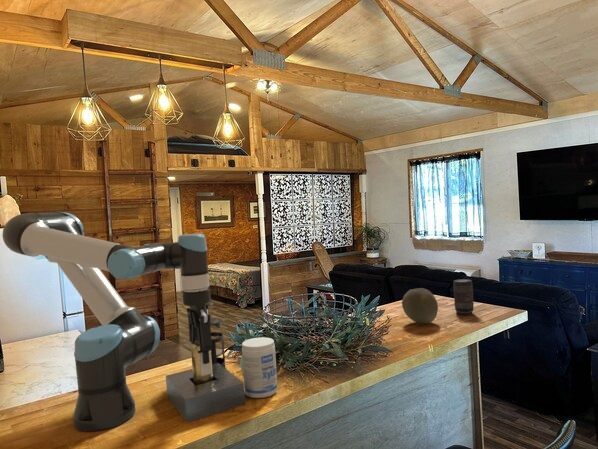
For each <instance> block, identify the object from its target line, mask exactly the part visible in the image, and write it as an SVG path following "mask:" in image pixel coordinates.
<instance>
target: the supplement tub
mask: <svg viewBox="0 0 598 449" xmlns="http://www.w3.org/2000/svg"><path fill="white" fill-rule="evenodd" d="M241 357H242V358H241V359H242V369H243V370H242V371H243V372H242V373H243V383H244V394H245V396H247V397H249V398H252V399H262V398H263V399H264V398H268V397H271V396H273V395H275V394H276V392H277V391H278V374H277V372H278V371H277V359H276V358H277V357H276V346H275V340H274V339H273V338H270V337H264V336H262V337H254V338H250V339H249V338H248V339H246V340H244V341H243V342H242V343H241Z"/></svg>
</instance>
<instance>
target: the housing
mask: <svg viewBox="0 0 598 449" xmlns="http://www.w3.org/2000/svg"><path fill="white" fill-rule="evenodd" d="M212 372H213V381H211V382H207V383H204V384H200V385H196V386H195V385H194V383H193V370H192V368H191V369H186V370H183V371H178V372H175V373H171V374H167V375H165V383H166V384H165V386H166V397H167V398H168V399H169V400H170V402H171V403H172V404H173V406H174V407H175V409H176V410H177V412H178V413H179V414H180V416H181V417H182V418H183V419H184V421H185V423H190V422H194V421H198V420H201V419H203V418H206V417H209V416H213V415H215V414H219V413H222V412H225V411H228V410H232V409H235V408H238V407H241V406H245V405H246V397H245V396H246V393H245V388H244V381H242V380H241V379H239V378H238V377H237V376H236V375H234V373H233V372H231V371H230V370H228V369H227V367H226V368H224V367H223V366H222V365H220V364H219V363H214V364H212Z"/></svg>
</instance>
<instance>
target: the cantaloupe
mask: <svg viewBox="0 0 598 449" xmlns="http://www.w3.org/2000/svg"><path fill="white" fill-rule="evenodd" d="M401 306H402V309H403V312H404V314H405V315H406V316H407V318H409V319H410V320H412V321H413V322H414V323H416V324H421V325H427V324H430V323H432V322H434V321H435V320H436V319H437V315H438V311H439V304H438V302H437V299H436V297H435V295H434V294H433V293H432V292H431V291H430V290H429V289H427V288H423V287H419V288H413V289H409V290H408V291H406V293H405V294H404V295H403V297H402V299H401Z"/></svg>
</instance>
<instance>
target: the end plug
mask: <svg viewBox="0 0 598 449" xmlns="http://www.w3.org/2000/svg"><path fill="white" fill-rule="evenodd" d="M198 351H200V345H199V339H196V340H195V343H192V344H191V343H190V353H191V354H190V355H191V369H192V370H193V383H194V385H195V386H196V385H200V384H204V383H207V382H211V381H213V372H212V359H211V350H210V364H211V374H207V375H204V376H201V370H200V358H199V353H198Z"/></svg>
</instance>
